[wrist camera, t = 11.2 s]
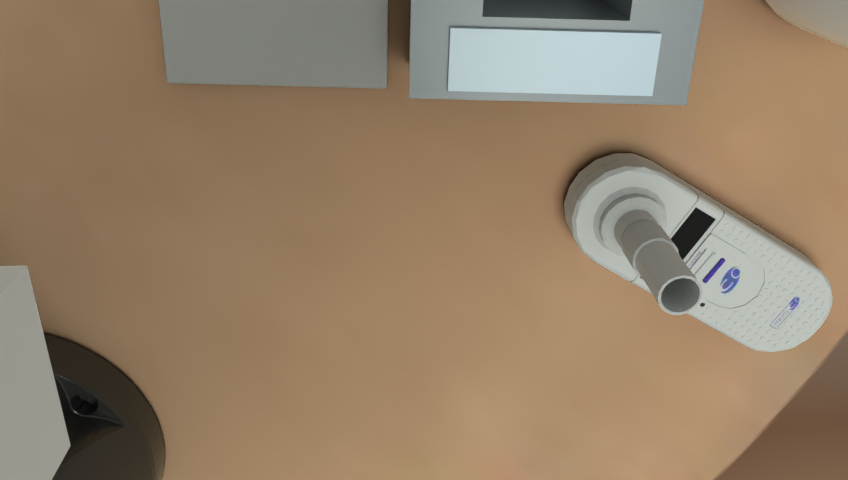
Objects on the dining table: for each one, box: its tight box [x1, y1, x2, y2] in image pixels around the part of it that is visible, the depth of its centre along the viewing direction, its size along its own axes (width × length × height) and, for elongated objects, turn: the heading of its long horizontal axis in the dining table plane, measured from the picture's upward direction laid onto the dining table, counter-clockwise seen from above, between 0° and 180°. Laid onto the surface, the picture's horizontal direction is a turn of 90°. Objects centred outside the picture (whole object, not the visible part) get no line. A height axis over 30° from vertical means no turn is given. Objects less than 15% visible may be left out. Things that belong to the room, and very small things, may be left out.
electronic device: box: [564, 153, 833, 352], centre depth 37 cm, size 5×10×15 cm
